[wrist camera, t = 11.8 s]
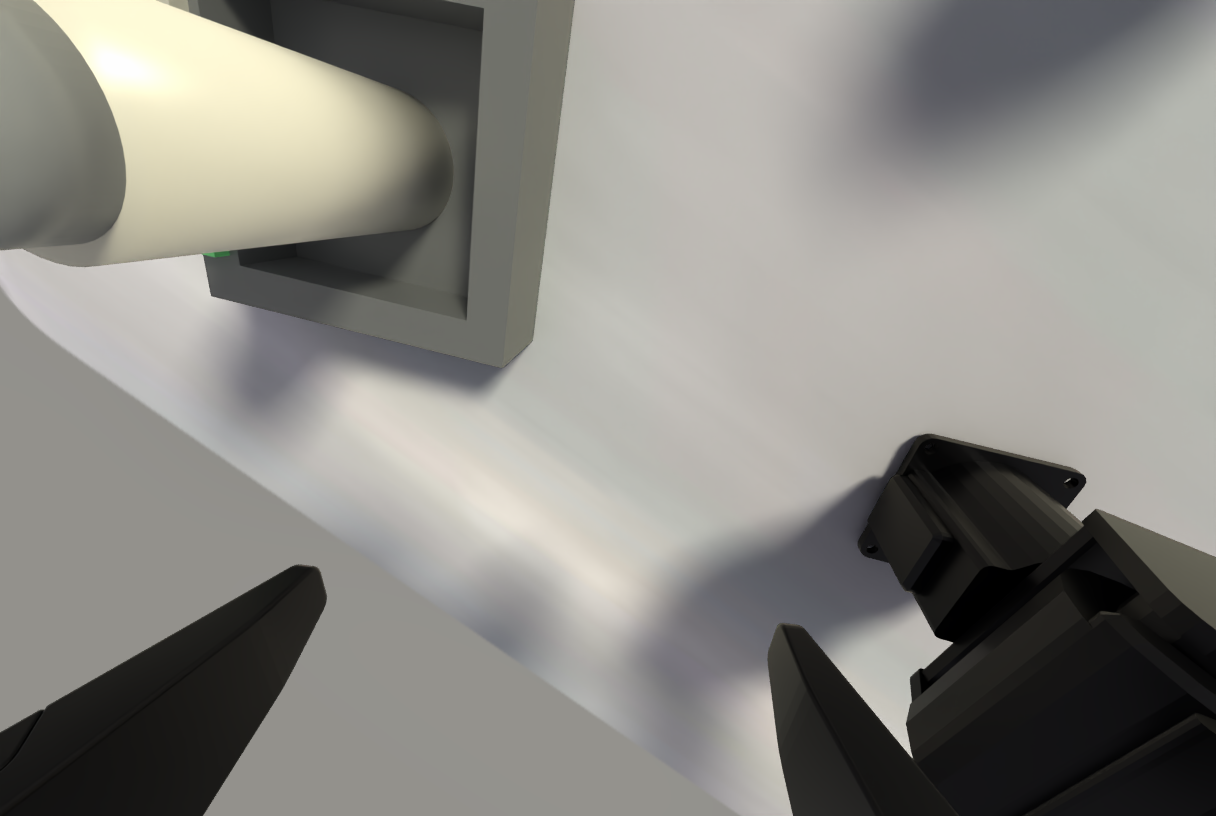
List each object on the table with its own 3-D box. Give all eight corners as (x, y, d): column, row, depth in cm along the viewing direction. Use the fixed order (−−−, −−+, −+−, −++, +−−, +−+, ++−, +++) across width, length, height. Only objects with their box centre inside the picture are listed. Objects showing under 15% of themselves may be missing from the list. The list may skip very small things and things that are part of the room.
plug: (431, 73, 16) (-241, -246, 5) (468, 219, 18) (58, 260, 6) (315, 102, 17) (-476, -96, 6) (362, 238, 19) (-160, 303, 7)
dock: (574, -2, 15) (535, -66, 12) (532, 341, 21) (496, 374, 17) (242, -65, 16) (105, -143, 12) (283, 280, 21) (196, 299, 18)
